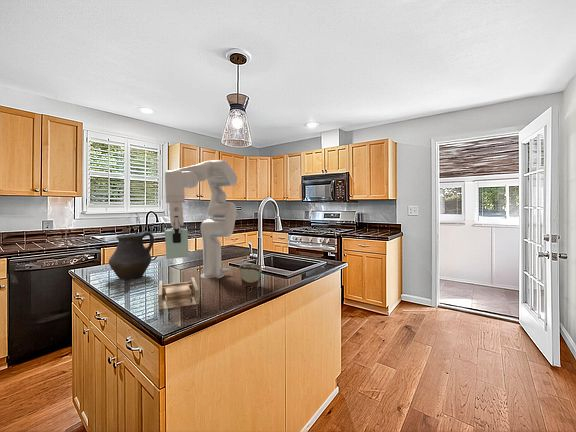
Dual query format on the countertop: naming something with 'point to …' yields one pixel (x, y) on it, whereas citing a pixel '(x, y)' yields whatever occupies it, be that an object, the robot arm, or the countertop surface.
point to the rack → (191, 285)
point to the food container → (250, 275)
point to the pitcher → (131, 256)
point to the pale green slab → (176, 245)
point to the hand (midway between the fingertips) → (176, 241)
